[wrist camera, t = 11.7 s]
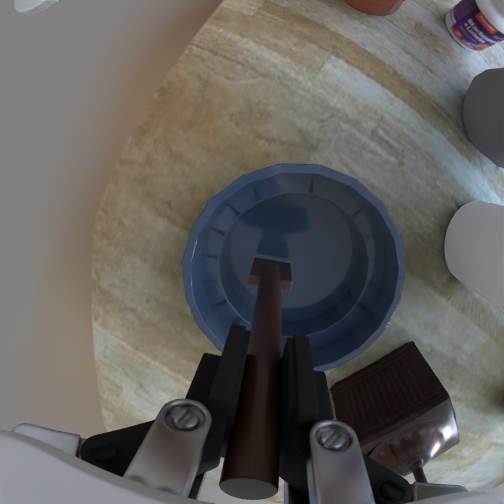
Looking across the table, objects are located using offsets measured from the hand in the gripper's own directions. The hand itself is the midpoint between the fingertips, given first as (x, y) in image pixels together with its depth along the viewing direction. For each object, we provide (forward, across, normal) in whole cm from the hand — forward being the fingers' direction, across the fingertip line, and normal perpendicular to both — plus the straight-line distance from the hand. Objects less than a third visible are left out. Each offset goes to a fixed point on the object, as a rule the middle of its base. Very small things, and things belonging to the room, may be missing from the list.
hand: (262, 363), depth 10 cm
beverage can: (+15, -19, -5) cm, 25 cm away
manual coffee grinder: (+15, -17, +16) cm, 28 cm away
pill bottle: (+15, -17, -28) cm, 36 cm away
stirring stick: (+13, 0, 0) cm, 13 cm away
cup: (+15, -19, -17) cm, 29 cm away
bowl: (+15, -2, 0) cm, 15 cm away
